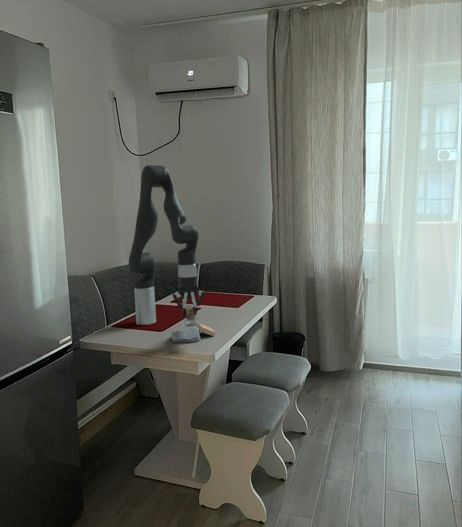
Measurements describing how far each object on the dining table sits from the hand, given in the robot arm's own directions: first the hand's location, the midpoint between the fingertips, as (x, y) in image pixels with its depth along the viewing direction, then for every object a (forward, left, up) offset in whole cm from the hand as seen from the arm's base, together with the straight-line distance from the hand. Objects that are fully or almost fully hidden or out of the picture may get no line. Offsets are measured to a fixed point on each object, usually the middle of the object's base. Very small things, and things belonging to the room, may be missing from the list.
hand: (189, 316), depth 187 cm
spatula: (0, -2, -1) cm, 2 cm away
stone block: (-2, +1, -10) cm, 11 cm away
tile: (+6, +9, -8) cm, 13 cm away
